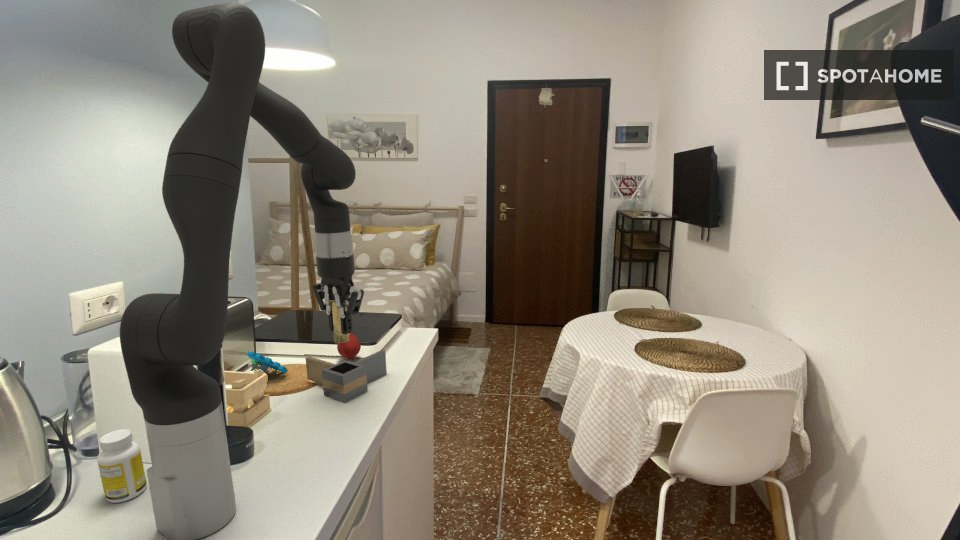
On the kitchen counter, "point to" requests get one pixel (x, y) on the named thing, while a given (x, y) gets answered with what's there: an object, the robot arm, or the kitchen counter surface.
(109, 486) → the supplement bottle
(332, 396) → the hinge
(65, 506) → the kitchen counter surface
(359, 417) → the kitchen counter surface
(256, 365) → the blue fuzzy lump
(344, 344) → the onion
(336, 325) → the hinge pin
